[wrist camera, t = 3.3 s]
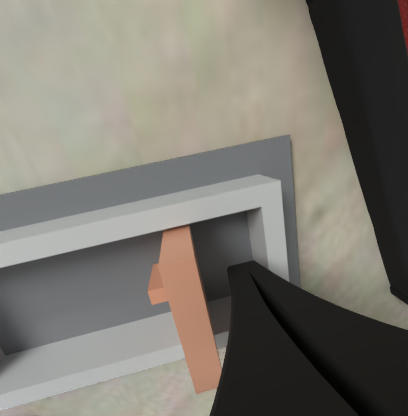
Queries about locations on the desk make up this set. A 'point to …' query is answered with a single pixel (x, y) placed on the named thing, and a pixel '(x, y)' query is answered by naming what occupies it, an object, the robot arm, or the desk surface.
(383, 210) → the binder
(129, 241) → the base
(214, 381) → the pusher
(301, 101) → the desk surface
